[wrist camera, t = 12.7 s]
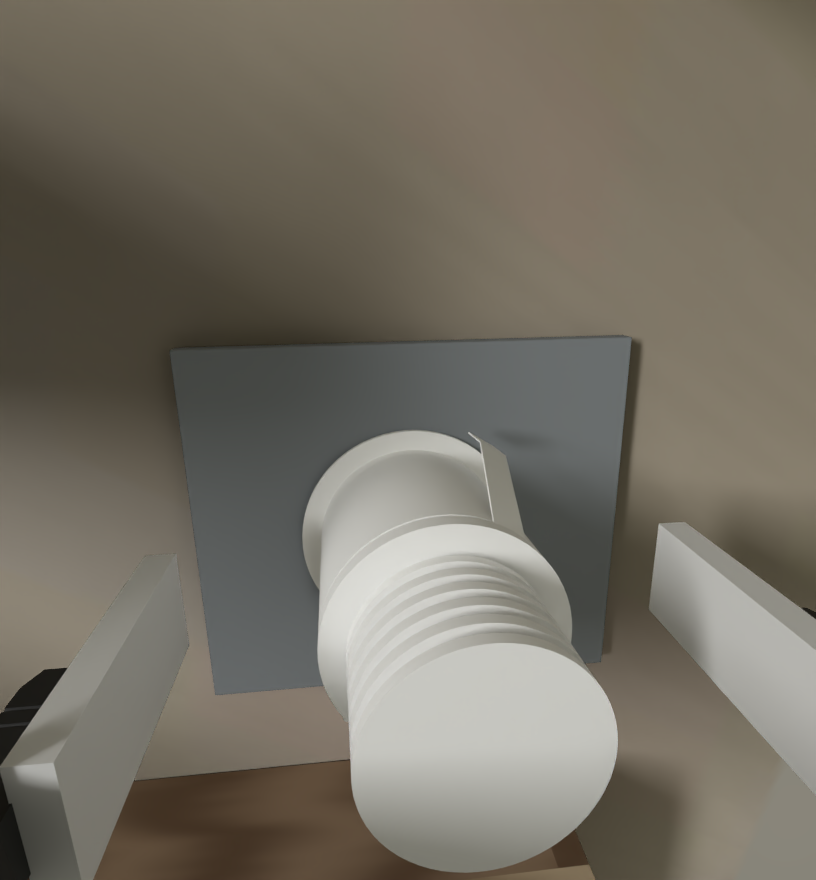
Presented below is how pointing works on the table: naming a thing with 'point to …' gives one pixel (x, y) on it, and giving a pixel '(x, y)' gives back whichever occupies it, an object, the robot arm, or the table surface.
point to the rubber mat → (369, 415)
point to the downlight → (451, 656)
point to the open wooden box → (278, 833)
